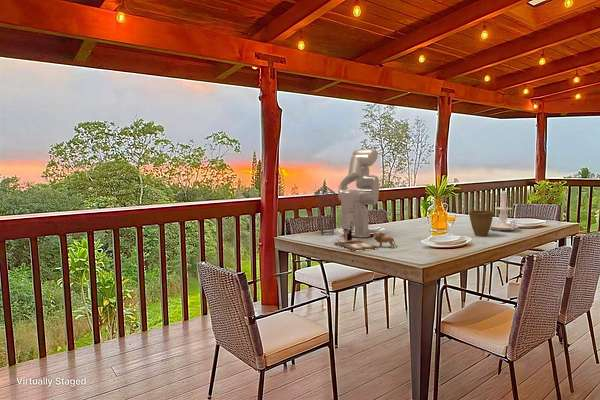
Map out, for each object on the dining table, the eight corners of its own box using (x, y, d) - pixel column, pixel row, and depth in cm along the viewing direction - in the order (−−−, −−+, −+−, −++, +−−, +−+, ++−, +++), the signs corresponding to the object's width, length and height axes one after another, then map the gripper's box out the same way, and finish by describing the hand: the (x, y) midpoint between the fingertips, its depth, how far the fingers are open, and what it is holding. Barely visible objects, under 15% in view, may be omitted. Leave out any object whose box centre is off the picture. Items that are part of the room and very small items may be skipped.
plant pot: (488, 233, 278) (488, 210, 276) (496, 237, 263) (497, 213, 262) (465, 233, 280) (466, 210, 278) (472, 237, 265) (473, 213, 263)
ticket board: (356, 241, 263) (356, 238, 263) (377, 249, 241) (377, 245, 241) (334, 244, 257) (334, 241, 256) (354, 252, 235) (354, 248, 234)
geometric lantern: (338, 235, 287) (336, 186, 283) (316, 236, 288) (313, 187, 284) (337, 231, 303) (334, 184, 299) (316, 232, 303) (313, 185, 299)
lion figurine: (372, 247, 245) (372, 232, 244) (374, 245, 250) (374, 231, 249) (397, 248, 240) (397, 233, 239) (398, 247, 245) (398, 232, 244)
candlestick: (500, 234, 274) (501, 192, 271) (481, 228, 298) (482, 190, 295) (529, 232, 275) (530, 191, 272) (508, 226, 300) (509, 189, 297)
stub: (354, 239, 262) (354, 229, 261) (358, 240, 257) (358, 230, 256) (337, 241, 257) (337, 231, 256) (341, 242, 252) (341, 232, 252)
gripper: (335, 209, 261) (336, 237, 263) (348, 212, 246) (349, 242, 248) (346, 208, 264) (346, 236, 266) (359, 211, 249) (359, 240, 251)
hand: (347, 239), depth 257 cm, fingers closed on stub, 3 cm apart
